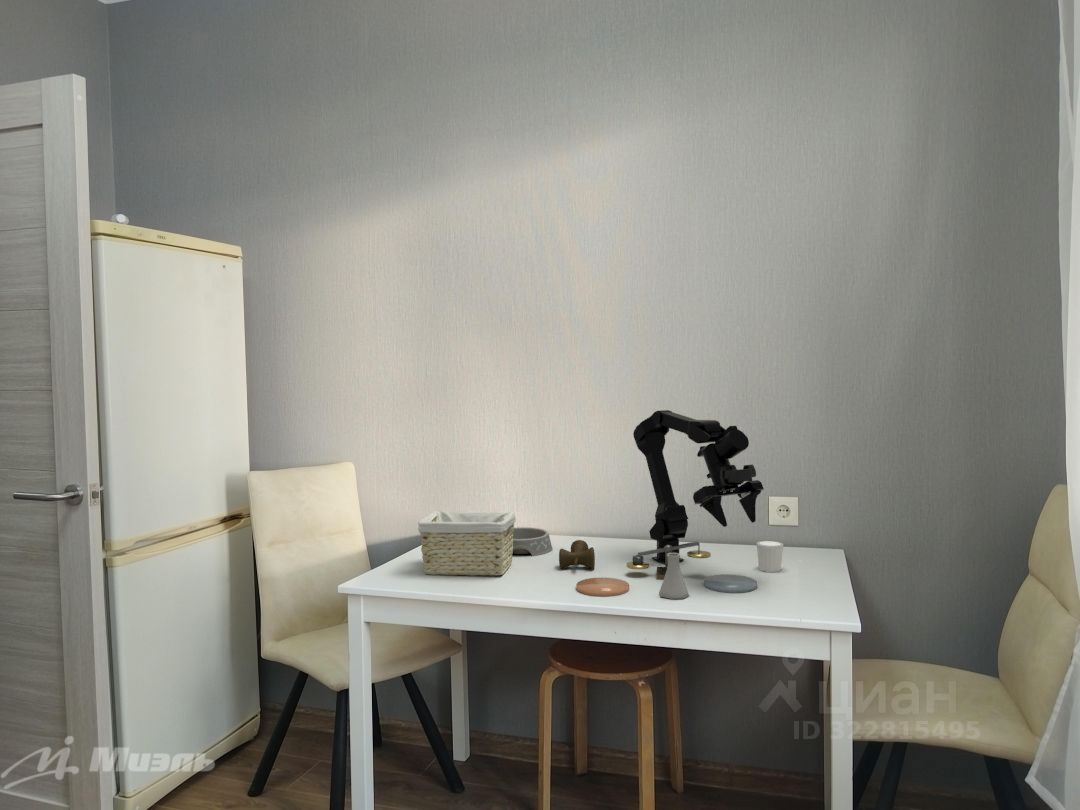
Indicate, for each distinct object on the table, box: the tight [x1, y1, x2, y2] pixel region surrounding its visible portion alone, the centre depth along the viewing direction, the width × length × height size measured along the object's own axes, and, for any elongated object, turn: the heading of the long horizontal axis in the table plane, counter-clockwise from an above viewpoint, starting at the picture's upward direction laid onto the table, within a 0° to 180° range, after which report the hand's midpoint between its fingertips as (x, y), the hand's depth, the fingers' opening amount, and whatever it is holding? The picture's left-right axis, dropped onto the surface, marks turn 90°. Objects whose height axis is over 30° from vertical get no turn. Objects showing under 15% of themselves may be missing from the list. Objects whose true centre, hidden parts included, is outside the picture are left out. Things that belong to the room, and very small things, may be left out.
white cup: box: [756, 540, 784, 573], centre depth 219 cm, size 7×7×7 cm
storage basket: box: [417, 509, 517, 577], centre depth 224 cm, size 24×16×15 cm
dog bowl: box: [512, 526, 553, 557], centre depth 245 cm, size 17×18×5 cm
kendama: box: [558, 539, 596, 571], centre depth 227 cm, size 6×10×20 cm
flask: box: [658, 552, 690, 600], centre depth 197 cm, size 7×7×10 cm
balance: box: [626, 541, 712, 581], centre depth 214 cm, size 22×8×9 cm, turn 81°
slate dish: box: [703, 574, 758, 594], centre depth 205 cm, size 13×13×1 cm
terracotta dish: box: [575, 577, 630, 597], centre depth 203 cm, size 13×13×1 cm
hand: (739, 524), depth 204 cm, fingers open, 9 cm apart
